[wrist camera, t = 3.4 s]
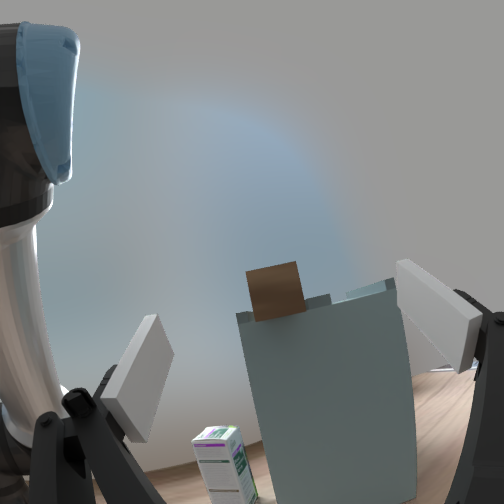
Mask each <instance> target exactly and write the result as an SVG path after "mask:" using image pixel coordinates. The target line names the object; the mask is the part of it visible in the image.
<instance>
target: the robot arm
mask: <svg viewBox="0 0 504 504" xmlns="http://www.w3.org/2000/svg"><path fill="white" fill-rule="evenodd" d="M79 53H80V42H79V38H78V36H77V35H76V33H75V32H74V31H72V30H71V29H69V28H67V27H63V26H53V25H42V24H31V23H29V22H25V21H24V22H21V23H16V24H2V25H0V399H1V400H2V402H3V403H0V504H96V501H95V495H94V489H93V483H92V475H91V471H92V473H93V475H94V477H95V480H96V482H97V484H98V486H99V488H100V490H101V492H102V494H103V496H104V498H105V500H106V502H107V504H166V502H165V501H164V500H163V498H162V497H161V496H160V494H159V493H158V492H157V490H156V489H155V488H154V486H153V485H152V483H151V482H150V481H149V479H148V478H147V476H146V475H145V474H144V472H143V471H142V469H141V468H140V466H139V465H138V463H137V462H136V460H135V459H134V457H133V455H132V454H131V452H130V451H129V449H128V447H127V446H126V444H125V443H124V442H123V439H124V436H125V435H126V436H127V437H128V439H129V440H130V441H131V442H133V443H134V442H135V443H147V441H148V437H149V434H150V431H151V427H152V424H153V420H154V417H155V414H156V410H157V407H158V404H159V401H160V397H161V394H162V391H163V388H164V385H165V381H166V378H167V375H168V372H169V369H170V366H171V363H172V359H173V356H174V352H173V350H172V348H171V345H170V343H169V341H168V338H167V336H166V334H165V331H164V329H163V326H162V324H161V321H160V319H159V316H158V314H153V315H147V316H145V317H144V319H143V321H142V323H141V324H140V326H139V328H138V329H137V331H136V333H135V335H134V336H133V338H132V340H131V342H130V343H129V345H128V347H127V349H126V351H125V352H124V354H123V356H122V358H121V360H120V362H119V363H118V365H113V366H112V367H111V368H110V369H109V370H108V371H107V372H106V374H105V376H104V377H103V380H102V381H101V383H100V386H99V387H98V388H97V390H96V392H95V394H94V395H93V397H91V396H90V394H89V393H88V391H87V390H86V389H84V388H75V389H73V390H71V391H68V390H67V389H66V388H64V387H63V386H62V385H60V383H59V379H58V376H57V372H56V368H55V364H54V360H53V356H52V352H51V347H50V343H49V338H48V334H47V328H46V323H45V317H44V311H43V305H42V298H41V291H40V282H39V273H38V263H37V248H36V223H37V222H38V221H39V220H40V219H41V218H42V217H43V216H44V215H45V214H46V213H47V212H48V211H49V209H50V208H51V206H52V203H53V191H54V185H61V184H62V183H63V182H66V181H68V180H70V178H71V176H72V125H73V107H74V95H75V85H76V75H77V68H78V60H79ZM396 271H397V272H396V273H397V306H398V307H399V308H400V309H401V310H402V311H403V312H404V313H405V315H406V316H407V317H408V318H409V319H410V320H411V321H412V322H413V323H414V324H415V325H416V326H417V328H419V330H420V331H421V332H422V333H423V334H424V335H425V337H426V338H427V339H428V340H429V341H430V342H431V343H432V344H433V346H434V347H435V348H436V349H437V350H438V351H439V352H440V354H441V355H442V356H443V357H444V358H445V359H446V360H447V362H448V363H449V364H450V365H451V366H452V368H453V369H454V370H455V371H456V372H457V374H460V373H462V372H464V371H466V370H468V369H470V368H471V367H472V363H473V359H474V357H475V358H476V359H477V360H478V361H479V363H478V367H477V370H476V374H475V377H474V380H473V381H476V382H475V390H474V396H473V402H472V408H471V413H470V419H469V423H468V428H467V433H466V437H465V441H464V445H463V449H462V453H461V456H460V460H459V463H458V467H457V470H456V473H455V476H454V479H453V482H452V485H451V488H450V491H449V493H448V496H447V499H446V501H445V503H444V504H504V312H495V313H492V312H491V311H490V310H488V309H487V308H486V307H484V306H483V305H482V304H480V303H479V302H477V301H476V300H475V299H474V298H471V296H470V295H468V294H467V293H465V292H463V291H460V290H457V289H455V290H451V289H450V288H449V287H447V286H446V285H445V284H443V283H442V282H441V281H439V280H438V279H436V278H435V277H434V276H432V275H431V274H429V273H428V272H427V271H425V270H424V269H422V268H421V267H420V266H418V265H417V264H415V263H414V262H412V261H411V260H409V259H408V258H407V259H404V260H400V261H396ZM23 475H30V479H29V486H28V485H27V484H26V482H25V480H24V478H23Z"/></svg>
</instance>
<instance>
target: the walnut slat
mask: <svg viewBox="0 0 504 504" xmlns="http://www.w3.org/2000/svg"><path fill="white" fill-rule="evenodd" d="M246 277H247V282H248V287H249V292H250V297H251V302H252V307H253V313H254V318H255V322H259V321H264V320H269V319H274V318H279V317H284V316H288V315H293V314H298V313H302V312H307V311H306V306H305V301H304V296H303V292H302V287H301V282H300V278H299V273H298V269H297V264H296V261H294V262H289V263H285V264H281V265H275V266H270V267H266V268H261V269H256V270H251V271H247V272H246Z"/></svg>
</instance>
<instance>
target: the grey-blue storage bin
mask: <svg viewBox="0 0 504 504" xmlns="http://www.w3.org/2000/svg"><path fill="white" fill-rule="evenodd" d="M346 296H347V300H344V301H339V302H336V303H331V298H330V294H326V295H321V296H317V297H313V298H309V299H306V300H304V301H305V306H306V311H307V312H302V313H298V314H293V315H288V316H284V317H279V318H274V319H269V320H264V321H259V322H255V318H254V313H253V312H248V311H246V312H241V313H236V317H237V322H238V327H239V332H240V337H241V342H242V347H243V352H244V357H245V361H246V366H247V372H248V376H249V381H250V386H251V391H252V395H253V400H254V404H255V409H256V414H257V418H258V423H259V427H260V431H261V436H262V441H263V445H264V449H265V454H266V458H267V462H268V467H269V471H270V475H271V479H272V483H273V488H274V492H275V496H276V500H277V504H401V503H404V502H406V501H409V500H411V499H414V498H416V485H417V447H416V424H415V410H414V398H413V388H412V379H411V371H410V363H409V356H408V349H407V343H406V337H405V331H404V325H403V320H402V315H401V309H400V308H399V307H398V306H397V290H396V286H395V281H394V278H390V279H386V280H383V281H380V282H377V283H374V284H371V285H368V286H365V287H362V288H359V289H356V290H353V291H350V292H347V293H346Z"/></svg>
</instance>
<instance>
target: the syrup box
mask: <svg viewBox="0 0 504 504" xmlns="http://www.w3.org/2000/svg"><path fill="white" fill-rule="evenodd" d="M191 443H192V446H193V450H194V453H195V456H196V459H197V462H198V465H199V469H200V471H201V474H202V477H203V480H204V483H205V486H206V489H207V491H208V494H209V497H210V500H211V502H212V504H254V502H255V500H256V498H257V496H258V493H257V489H256V486H255V483H254V479H253V476H252V472H251V469H250V465H249V461H248V458H247V454H246V451H245V447H244V443H243V440H242V436H241V432H240V428H239V426H215V427H206V428H205V430H204V431H203V432H202V433H201V434H199V435H198V436H197V437H196V438H195V439H193V440H192V441H191Z"/></svg>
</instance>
